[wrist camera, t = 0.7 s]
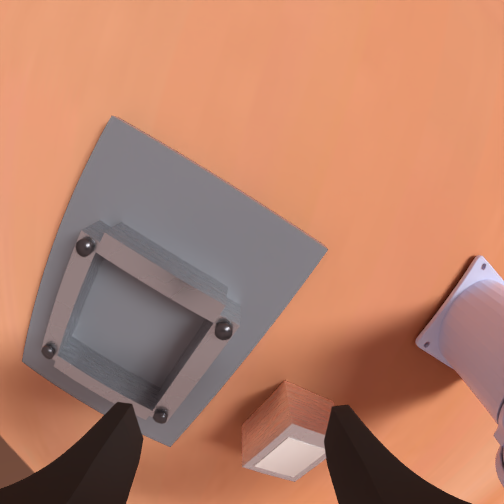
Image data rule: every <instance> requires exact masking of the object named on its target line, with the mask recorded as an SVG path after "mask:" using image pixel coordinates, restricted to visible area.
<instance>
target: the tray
mask: <svg viewBox="0 0 504 504" xmlns="http://www.w3.org/2000/svg"><path fill="white" fill-rule="evenodd" d="M327 250H328V249H327V248H326V246H325V245H323V244H322V243H320V242H319V241H317V240H316V239H314V238H313V237H311V236H310V235H308V234H307V233H305V232H304V231H302V230H301V229H299V228H298V227H296V226H295V225H293V224H292V223H290V222H289V221H287V220H286V219H284V218H283V217H281V216H280V215H278V214H276V213H275V212H273V211H272V210H270V209H269V208H267V207H266V206H264V205H262V204H261V203H259V202H258V201H256V200H255V199H253V198H252V197H250V196H248V195H247V194H245V193H244V192H242V191H240V190H239V189H237V188H236V187H234V186H233V185H231V184H229V183H228V182H226V181H225V180H223V179H221V178H220V177H218V176H216V175H215V174H213V173H212V172H210V171H208V170H207V169H205V168H203V167H202V166H200V165H198V164H197V163H195V162H194V161H192V160H190V159H189V158H187V157H185V156H184V155H182V154H180V153H179V152H177V151H175V150H174V149H172V148H170V147H168V146H167V145H165V144H163V143H162V142H160V141H158V140H157V139H155V138H153V137H151V136H150V135H148V134H146V133H145V132H143V131H141V130H139V129H138V128H136V127H134V126H132V125H131V124H129V123H127V122H125V121H124V120H122V119H120V118H118V117H116V116H111V118H110V120H109V122H108V123H107V125H106V127H105V129H104V131H103V133H102V135H101V136H100V138H99V140H98V142H97V144H96V146H95V148H94V150H93V152H92V154H91V156H90V158H89V160H88V162H87V164H86V166H85V168H84V170H83V173H82V175H81V177H80V179H79V181H78V184H77V186H76V188H75V190H74V193H73V195H72V197H71V200H70V202H69V204H68V207H67V209H66V212H65V214H64V217H63V219H62V222H61V224H60V227H59V230H58V232H57V235H56V238H55V241H54V243H53V246H52V249H51V252H50V255H49V258H48V261H47V264H46V267H45V270H44V273H43V277H42V280H41V283H40V287H39V290H38V294H37V297H36V301H35V305H34V309H33V313H32V317H31V321H30V325H29V329H28V334H27V338H26V343H25V348H24V353H23V358H22V362H23V363H25V364H26V365H27V366H29V367H30V368H31V369H33V370H34V371H36V372H37V373H38V374H40V375H41V376H43V377H44V378H46V379H47V380H48V381H50V382H51V383H53V384H54V385H56V386H57V387H59V388H60V389H62V390H64V391H65V392H67V393H68V394H70V395H71V396H73V397H75V398H76V399H78V400H80V401H81V402H83V403H85V404H86V405H88V406H90V407H91V408H93V409H95V410H97V411H98V412H100V413H102V414H104V415H105V414H106V413H107V412H108V411H109V410H110V409H111V407H112V406H113V405H114V404H115V403H117V402H123V403H131V404H133V408H134V411H135V414H136V418H137V421H138V424H139V427H140V430H141V433H142V434H143V435H145V436H147V437H149V438H151V439H153V440H155V441H158V442H160V443H162V444H164V445H167V446H169V447H171V446H172V445H173V443H174V442H175V441H176V440H177V439H178V438H179V437H180V436H181V434H182V433H183V432H184V431H185V430H186V429H187V428H188V426H189V425H190V424H191V423H192V422H193V421H194V420H195V418H196V417H197V416H198V415H199V414H200V413H201V411H202V410H203V409H204V408H205V407H206V406H207V404H208V403H209V402H210V401H211V400H212V399H213V397H214V396H215V395H216V394H217V393H218V391H219V390H220V389H221V388H222V387H223V385H224V384H225V383H226V382H227V381H228V379H229V378H230V377H231V376H232V375H233V373H234V372H235V371H236V370H237V368H238V367H239V366H240V365H241V363H242V362H243V361H244V360H245V359H246V357H247V356H248V355H249V354H250V352H251V351H252V350H253V349H254V347H255V346H256V345H257V343H258V342H259V341H260V340H261V338H262V337H263V336H264V335H265V333H266V332H267V331H268V329H269V328H270V327H271V326H272V324H273V323H274V322H275V320H276V319H277V318H278V317H279V315H280V314H281V313H282V311H283V310H284V309H285V307H286V306H287V305H288V303H289V302H290V301H291V299H292V298H293V297H294V295H295V294H296V293H297V291H298V290H299V289H300V287H301V286H302V285H303V283H304V282H305V281H306V279H307V278H308V277H309V275H310V274H311V273H312V271H313V270H314V268H315V267H316V266H317V264H318V263H319V262H320V260H321V259H322V257H323V256H324V255H325V253H326V252H327Z"/></svg>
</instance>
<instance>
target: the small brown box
mask: <svg viewBox="0 0 504 504" xmlns="http://www.w3.org/2000/svg"><path fill="white" fill-rule="evenodd" d="M332 406H335V405H334V402H333V401H332V400H329V399H327V398H324V397H322V396H320V395H317V394H315V393H313V392H310V391H308V390H306V389H303V388H301V387H299V386H297V385H294V384H292V383H290V382H288V381H286V380H284V381H283V383H282V384H281V385H280V386H279V387H278V388H277V389H276V390H275V391H274V392H273V393H272V394H271V395H270V396H269V398H268V399H267V400H266V401H265V402H264V403H263V404H262V405H261V406H260V407H259V408H258V409H257V410H256V411H255V412H254V413H253V414H252V415H251V416H250V417H249V418H248V419H247V420H246V421H245V422H244V423H243V424H242V467H244V468H247V469H250V470H254V471H257V472H261V473H264V474H267V475H271V476H275V477H279V478H282V479H286V480H290V481H294V482H295V481H296V480H298V479H299V478H301V477H302V476H303V475H305V474H306V473H307V472H309V471H310V470H311V469H313V468H314V467H315V466H317V465H318V464H319V463H321V462H322V461H323V460H325V459H326V453H325V446H324V438H325V434H326V430H327V426H328V422H329V417H330V413H331V408H332Z"/></svg>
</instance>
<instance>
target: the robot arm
mask: <svg viewBox="0 0 504 504" xmlns="http://www.w3.org/2000/svg"><path fill="white" fill-rule="evenodd" d="M482 264H483V266H482ZM481 266H482V268H481ZM426 342H427V343H426ZM415 343H416V345H417V346H418V347H419V348H421V349H422V350H424V351H425V352H427V353H429V354H430V355H432V356H433V357H435V358H436V359H438V360H440V361H441V362H443V363H444V364H446V365H447V366H449V367H450V368H452V369H454V370H455V371H456V372H457V373H458V374H459V376H460V377H461V378H462V379H463V381H464V382H465V383H466V384H467V385H468V387H469V388H470V389H471V390H472V392H473V393H474V394H475V395H476V397H477V398H478V399H479V401H480V402H481V403H482V404H483V406H484V407H485V408H486V409H487V411H488V412H489V413H490V415H491V416H492V417H493V419H494V420H495V421H496V423H497V424H498V428H497V430H496V432H495V433H494V437H495V438H496V440H497V441H498V443H499V444H500V445H501V446H500V447H499V449H498V452H497V454H496V460H495V465H496V472H497V475H498V478H499V480H500V482H501V484H502V485H503V487H504V281H503V279H502V278H501V277H500V276H499V274H498V273H497V272H496V271H495V270H494V268H493V267H492V266H491V265H490V264H489V263H488V261H487V260H486V259H485V258H484V257H483V256H481V255H477V256H476V257H475V258H474V260H473V261H472V263H471V264H470V266H469V268H468V269H467V271H466V272H465V274H464V275H463V277H462V278H461V280H460V281H459V282H458V284H457V285H456V287H455V288H454V290H453V291H452V292H451V294H450V295H449V297H448V298H447V299H446V301H445V302H444V303H443V305H442V306H441V308H440V309H439V310H438V312H437V313H436V314H435V315H434V317H433V318H432V319H431V321H430V322H429V323H428V324H427V326H426V327H425V328H424V330H423V331H422V332H421V333H420V334H419V336H418V337H417V338H416V341H415ZM425 343H426V344H425ZM424 344H425V345H424ZM142 443H143V436H142V433H141V430H140V427H139V424H138V421H137V418H136V414H135V411H134V408H133V404H131V403H123V402H117V403H115V404H114V405H113V406H112V407H111V409H110V410H109V411H108V412H107V413H106V414H105V415H104V416H103V417H102V418H101V419H100V420H99V421H98V422H97V423H96V424H95V425H94V426H93V427H92V428H91V429H90V430H89V431H88V432H87V433H86V434H85V435H84V436H83V437H82V438H81V439H80V440H79V441H78V442H76V443H75V444H74V445H73V446H72V447H71V448H70V449H68V450H67V451H66V452H65V453H64V454H62V455H61V456H60V457H59V458H57V459H56V460H55V461H53V462H52V463H50V464H49V465H47V466H46V467H44V468H43V469H41V470H39V471H38V472H36V473H34V474H32V475H31V476H29V477H27V478H25V479H23V480H21V481H19V482H16V483H14V484H12V485H9V486H7V487H4V488H1V489H0V504H126V501H127V498H128V495H129V492H130V489H131V486H132V482H133V479H134V476H135V473H136V470H137V467H138V463H139V460H140V454H141V449H142ZM324 446H325V453H326V460H327V465H328V469H329V472H330V476H331V479H332V483H333V486H334V489H335V493H336V496H337V500H338V503H339V504H471V503H469V502H466V501H463V500H461V499H459V498H456V497H454V496H452V495H450V494H448V493H446V492H444V491H442V490H441V489H439V488H437V487H435V486H434V485H432V484H430V483H428V482H427V481H425V480H424V479H422V478H421V477H420V476H418V475H417V474H415V473H414V472H413V471H411V470H410V469H409V468H408V467H406V466H405V465H404V464H403V463H402V462H400V461H399V460H398V459H397V458H396V457H395V456H394V455H393V454H392V453H391V452H390V451H389V450H388V449H387V448H386V447H385V446H384V445H383V444H382V443H381V442H380V441H379V440H378V439H377V438H376V437H375V436H374V435H373V434H372V432H371V431H370V430H369V429H368V428H367V427H366V426H365V424H364V423H363V422H362V421H361V420H360V418H359V417H358V416H357V415H356V413H355V412H354V411H353V410H352V408H351V407H350V406H349V405H342V406H332V408H331V413H330V417H329V422H328V426H327V430H326V434H325V438H324Z"/></svg>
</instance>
